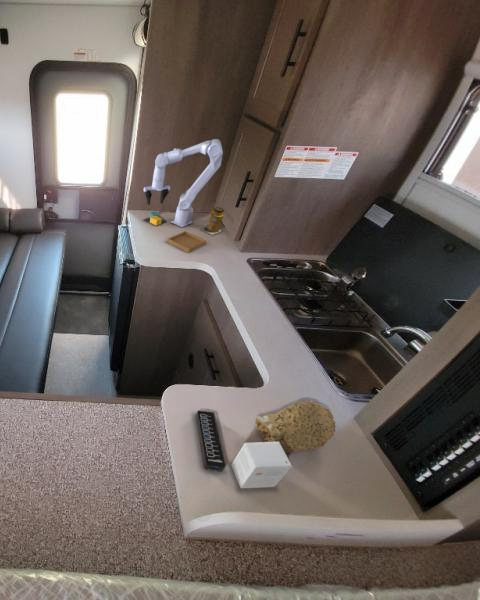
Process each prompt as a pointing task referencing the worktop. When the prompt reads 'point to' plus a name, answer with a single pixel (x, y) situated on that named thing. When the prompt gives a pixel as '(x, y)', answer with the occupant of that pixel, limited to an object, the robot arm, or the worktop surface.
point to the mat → (151, 223)
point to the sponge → (298, 426)
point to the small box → (260, 464)
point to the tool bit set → (209, 441)
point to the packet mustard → (155, 220)
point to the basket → (186, 241)
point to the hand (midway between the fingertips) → (154, 203)
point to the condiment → (214, 221)
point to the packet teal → (154, 214)
